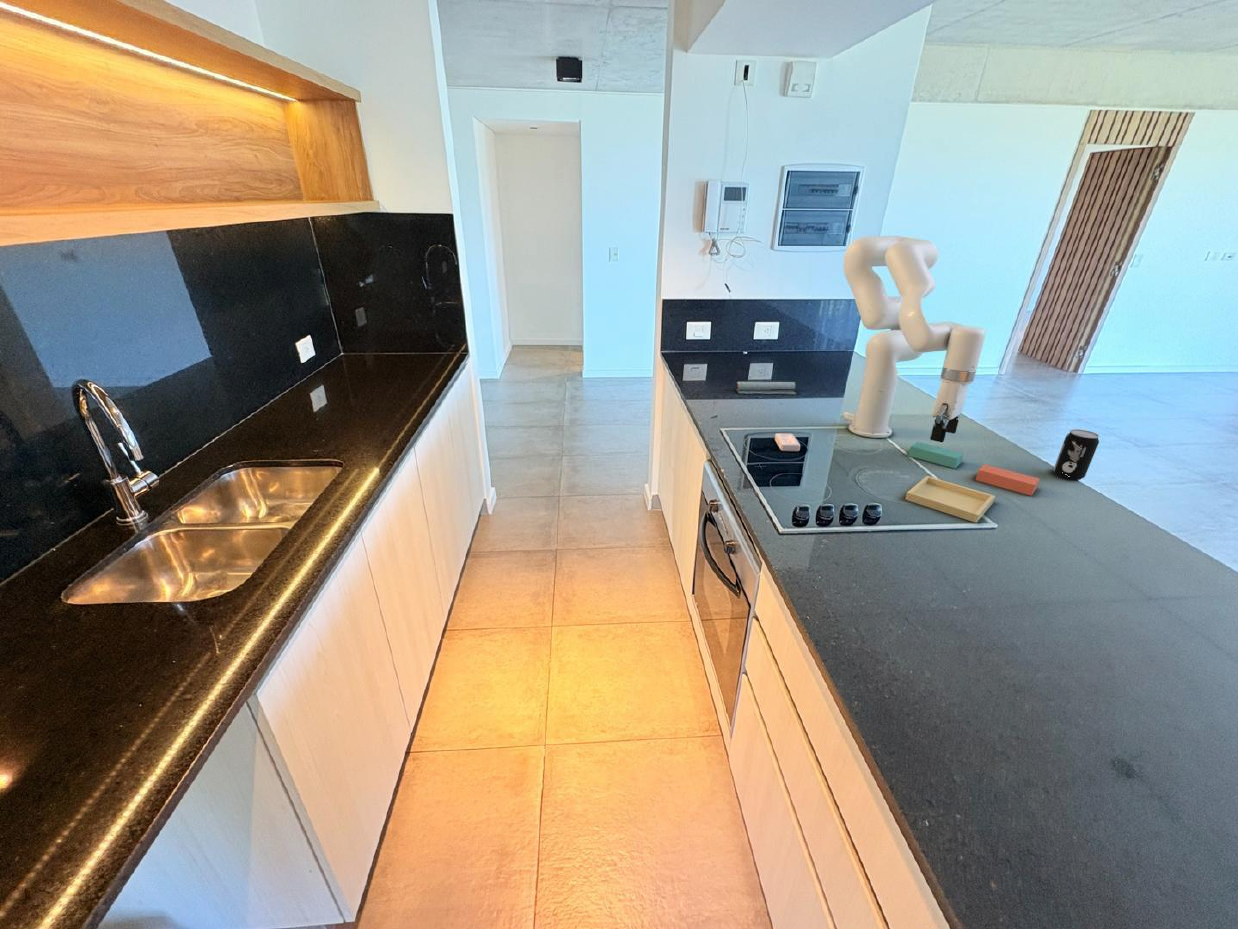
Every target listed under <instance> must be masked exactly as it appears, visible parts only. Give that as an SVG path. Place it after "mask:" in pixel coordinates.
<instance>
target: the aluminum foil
mask: <svg viewBox="0 0 1238 929" xmlns="http://www.w3.org/2000/svg"><path fill="white" fill-rule="evenodd" d="M736 387H737V388H738V389H737V388H736ZM735 389H736V391H737V393H738V394H746V395H747V394H750V395H751V394H763V395H765V394H767V395H768V394H769V395H770V394H782V395H797V392H796V391H795V390H796V382H795V381H737V382H736V385H735ZM771 389H795V390H771Z"/></svg>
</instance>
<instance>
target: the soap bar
mask: <svg viewBox="0 0 1238 929" xmlns="http://www.w3.org/2000/svg"><path fill="white" fill-rule="evenodd" d="M774 441H775V443H776V444H777V446H778V447H779V450H780V451H781V452H799V451H800V450H801V444H800V442H799V440H797V438H796V436H795V435H794V434H793V433H780V432H779V433H777V432H776V433H775V434H774Z"/></svg>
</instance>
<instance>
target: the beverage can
mask: <svg viewBox="0 0 1238 929" xmlns="http://www.w3.org/2000/svg"><path fill="white" fill-rule="evenodd" d="M1099 437H1100V434H1098V433H1096V432H1094V431H1090V430H1086V429H1077V428H1076V429H1071V430H1069V432H1068V433H1067V434H1066V435H1065V438H1064V440H1063V443H1062V445H1061V448H1060V450H1059V453H1058V457H1057V458H1056V461H1055V463H1054V467H1055V468H1054V467H1053V470H1052V472H1054V475H1056V476H1058V477H1059V478H1062V479H1066V480H1069V481H1080V480H1083V479H1084V478H1085V477H1086V476H1087V473H1088V470H1089V467H1090V466H1091V463H1092V460H1093V458H1094V456H1095V453H1096V452H1097V449H1098V445H1099V443H1100V440H1099ZM1062 472H1063V473H1062ZM1065 474H1067V475H1068V476H1070V477H1068V476H1067V475H1065Z"/></svg>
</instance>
